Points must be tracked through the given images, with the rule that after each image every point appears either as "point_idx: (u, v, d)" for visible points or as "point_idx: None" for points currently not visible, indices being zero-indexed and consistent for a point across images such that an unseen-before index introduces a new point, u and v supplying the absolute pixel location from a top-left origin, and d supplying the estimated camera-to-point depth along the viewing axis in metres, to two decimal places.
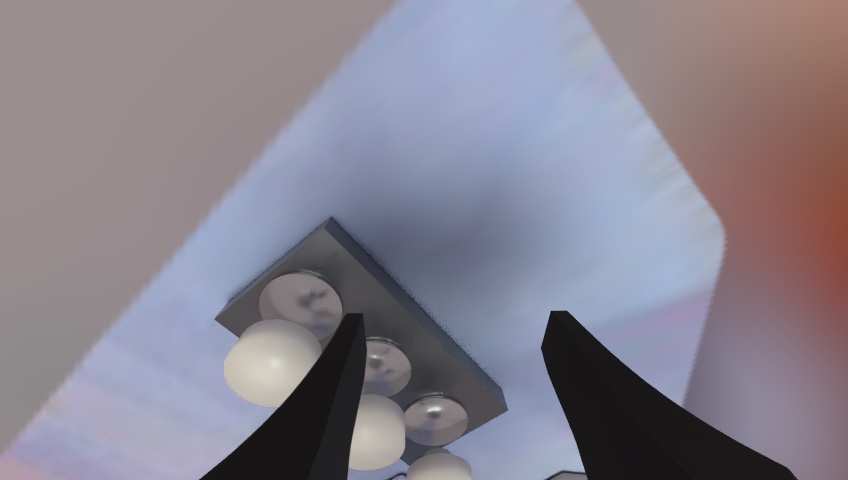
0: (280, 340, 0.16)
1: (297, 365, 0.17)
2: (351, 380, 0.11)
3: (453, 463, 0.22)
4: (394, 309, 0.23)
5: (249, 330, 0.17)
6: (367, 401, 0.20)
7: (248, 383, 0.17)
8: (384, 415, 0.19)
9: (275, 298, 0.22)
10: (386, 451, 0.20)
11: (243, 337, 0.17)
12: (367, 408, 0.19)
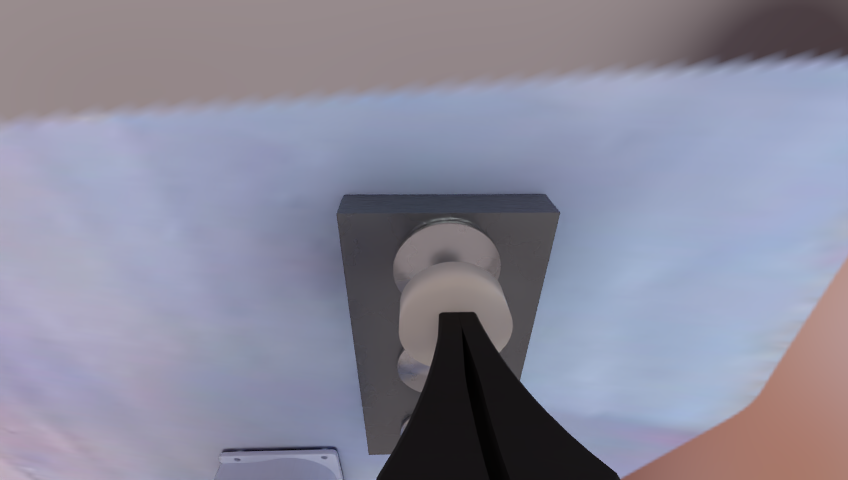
0: (507, 308, 0.13)
1: (492, 339, 0.14)
2: None
3: None
4: (522, 325, 0.19)
5: (465, 269, 0.13)
6: None
7: (424, 326, 0.13)
8: None
9: (436, 243, 0.16)
10: None
11: (464, 276, 0.13)
12: None
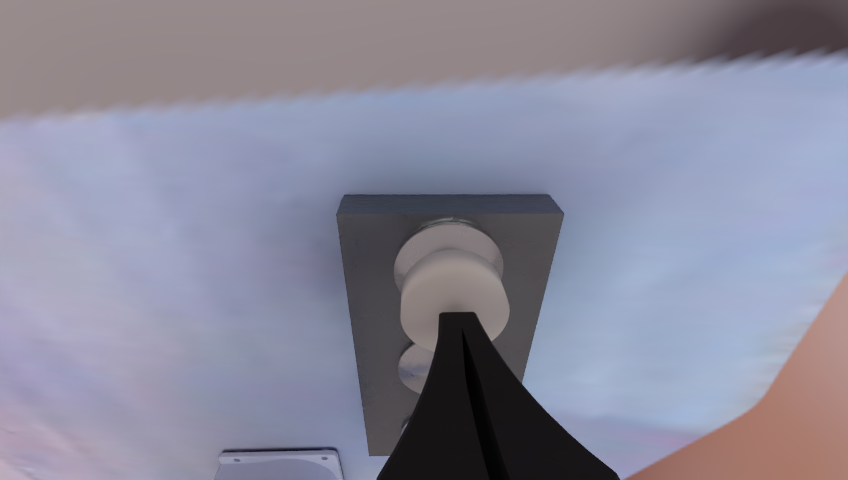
0: (504, 293, 0.14)
1: (490, 324, 0.14)
2: None
3: None
4: (525, 327, 0.19)
5: (464, 256, 0.14)
6: None
7: (425, 310, 0.14)
8: None
9: (437, 244, 0.16)
10: None
11: (463, 263, 0.13)
12: None
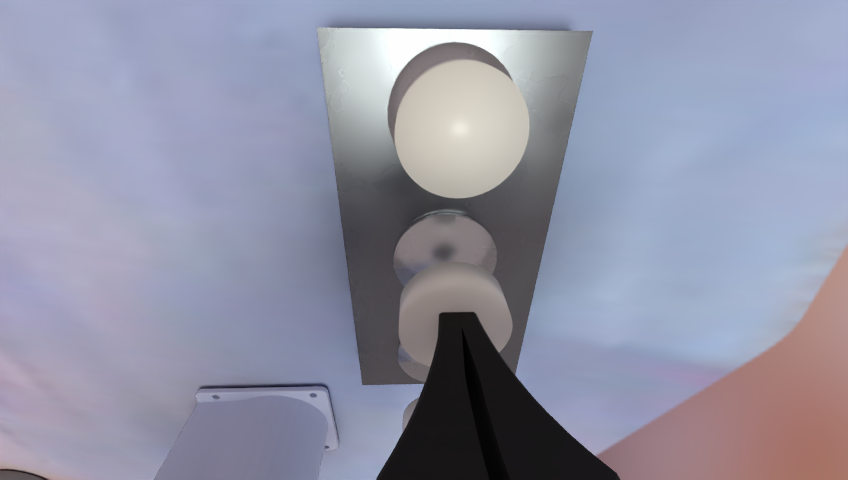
0: (524, 101, 0.11)
1: (505, 150, 0.12)
2: None
3: None
4: (541, 204, 0.16)
5: (473, 59, 0.11)
6: (492, 280, 0.13)
7: (425, 126, 0.11)
8: (508, 309, 0.13)
9: None
10: None
11: (472, 60, 0.11)
12: (495, 288, 0.13)
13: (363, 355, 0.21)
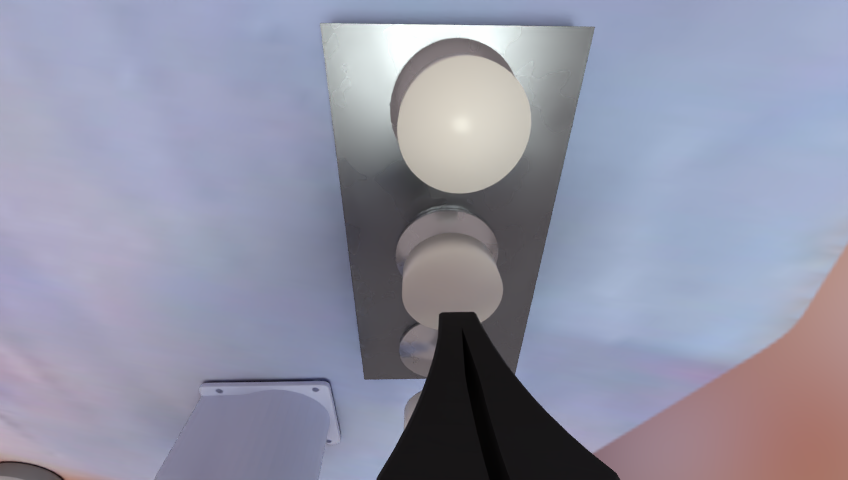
0: (525, 96, 0.11)
1: (506, 145, 0.12)
2: None
3: None
4: (542, 200, 0.16)
5: None
6: (485, 249, 0.15)
7: (427, 121, 0.11)
8: (499, 274, 0.15)
9: None
10: None
11: (474, 55, 0.11)
12: (487, 256, 0.15)
13: (365, 350, 0.21)
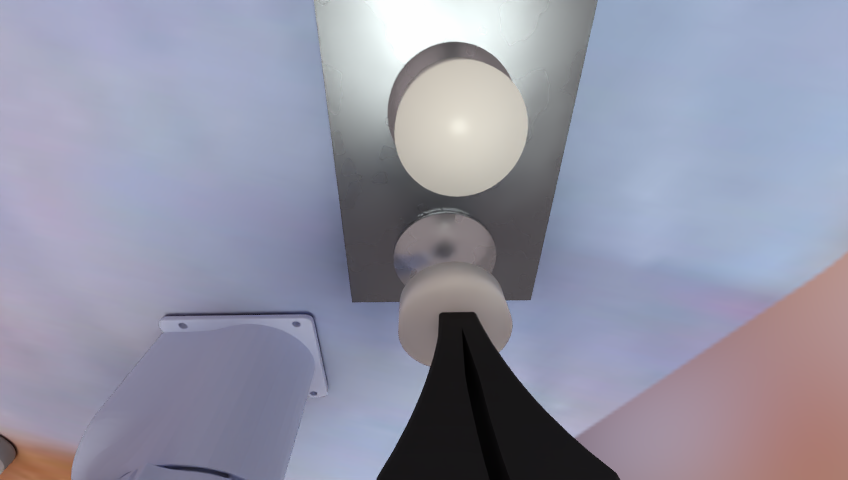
0: None
1: None
2: None
3: (502, 293, 0.14)
4: (575, 30, 0.13)
5: None
6: None
7: None
8: None
9: None
10: (474, 169, 0.12)
11: None
12: None
13: (352, 260, 0.18)
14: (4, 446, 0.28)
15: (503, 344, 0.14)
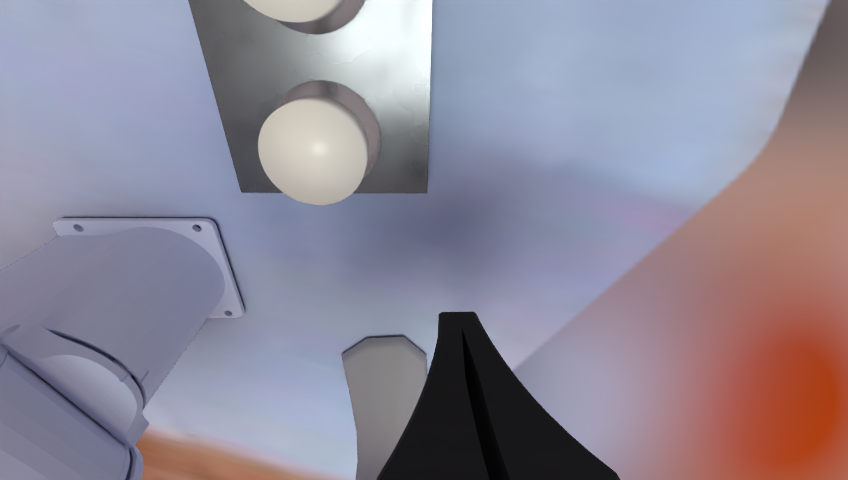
0: None
1: None
2: None
3: (359, 126, 0.15)
4: None
5: None
6: None
7: None
8: None
9: None
10: None
11: None
12: None
13: (232, 139, 0.17)
14: None
15: (361, 174, 0.15)
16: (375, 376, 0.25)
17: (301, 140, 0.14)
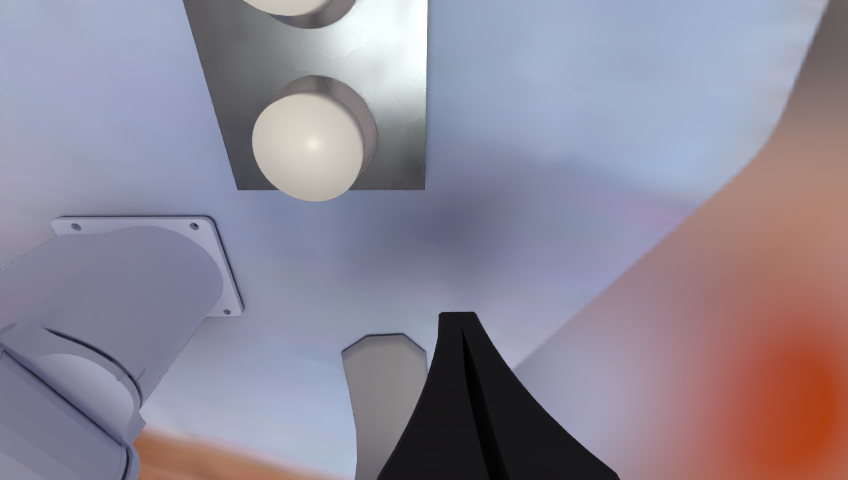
0: None
1: None
2: None
3: (355, 121, 0.15)
4: None
5: None
6: None
7: None
8: None
9: None
10: None
11: None
12: None
13: (228, 136, 0.17)
14: None
15: (356, 170, 0.15)
16: (375, 375, 0.25)
17: (295, 136, 0.14)
